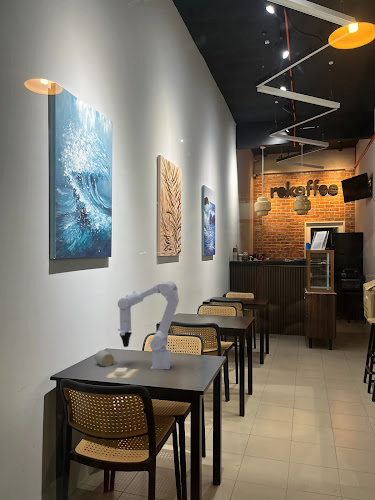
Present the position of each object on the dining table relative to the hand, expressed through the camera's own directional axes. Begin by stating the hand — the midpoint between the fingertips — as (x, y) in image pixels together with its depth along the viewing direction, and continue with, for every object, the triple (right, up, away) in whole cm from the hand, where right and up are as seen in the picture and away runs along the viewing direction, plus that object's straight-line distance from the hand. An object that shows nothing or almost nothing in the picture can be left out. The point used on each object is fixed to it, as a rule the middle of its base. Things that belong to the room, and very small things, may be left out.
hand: (126, 346), depth 211 cm
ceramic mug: (-10, -11, +2) cm, 15 cm away
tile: (0, -8, -13) cm, 15 cm away
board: (+1, -10, -16) cm, 19 cm away
